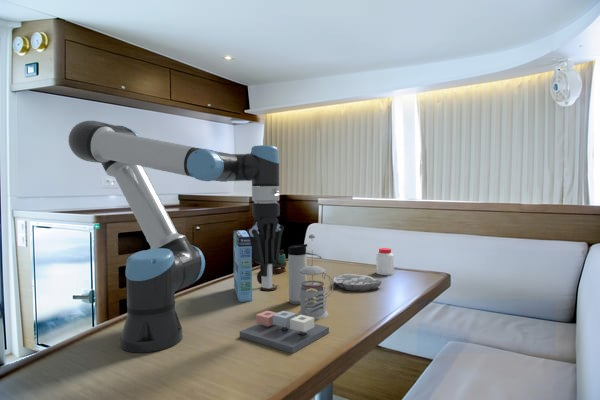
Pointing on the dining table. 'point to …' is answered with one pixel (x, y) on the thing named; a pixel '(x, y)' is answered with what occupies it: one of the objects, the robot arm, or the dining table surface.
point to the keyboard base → (283, 336)
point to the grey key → (283, 319)
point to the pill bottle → (385, 262)
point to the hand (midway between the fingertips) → (267, 287)
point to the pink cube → (265, 318)
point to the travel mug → (296, 271)
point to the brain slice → (356, 282)
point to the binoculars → (280, 263)
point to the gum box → (242, 266)
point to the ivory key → (302, 323)
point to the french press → (313, 292)
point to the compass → (261, 283)
